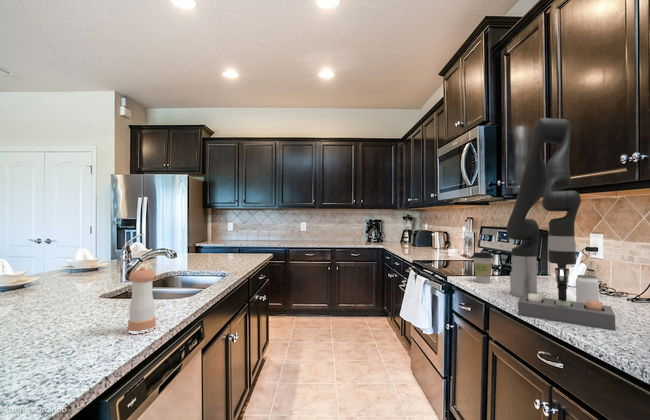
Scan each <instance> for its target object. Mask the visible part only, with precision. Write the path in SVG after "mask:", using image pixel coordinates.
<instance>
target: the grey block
mask: <svg viewBox="0 0 650 420" xmlns="http://www.w3.org/2000/svg"><path fill="white" fill-rule="evenodd" d="M599 289H600V288H599V280H598V278H597V276H593V275H587V274H577V277H576V279H575V302H581V303H586V301H587V300H592V301H599V302H600V300H599V299H600V297H599V296H600V292H599V291H600V290H599Z"/></svg>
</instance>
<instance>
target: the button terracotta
mask: <svg viewBox="0 0 650 420" xmlns="http://www.w3.org/2000/svg"><path fill="white" fill-rule="evenodd" d="M602 305H603V302H601V301H600V300H599V301H592V300H587V301H586V309H591V310H599V311H602Z"/></svg>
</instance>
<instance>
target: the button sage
mask: <svg viewBox="0 0 650 420" xmlns="http://www.w3.org/2000/svg"><path fill="white" fill-rule="evenodd" d="M569 301H570V300H566V301H560V300H559V299H557V300H556V305H562V306H569V307H571V302H569Z"/></svg>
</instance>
